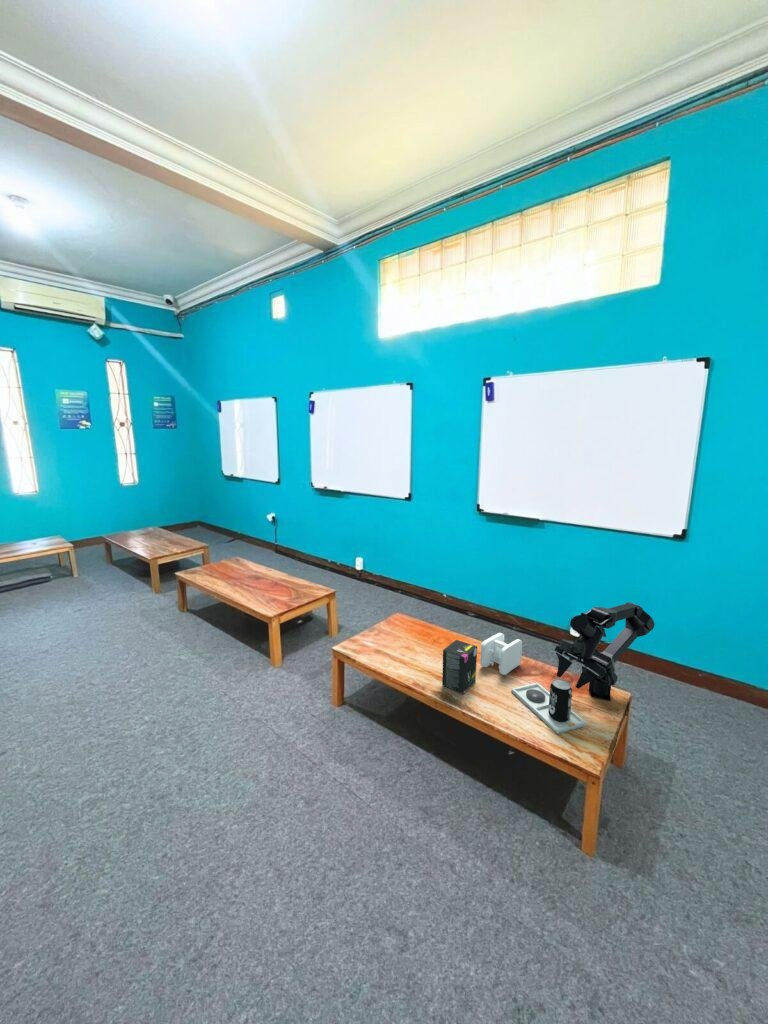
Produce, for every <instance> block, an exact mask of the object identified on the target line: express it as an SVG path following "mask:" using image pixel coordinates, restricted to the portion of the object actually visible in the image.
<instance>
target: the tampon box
mask: <svg viewBox="0 0 768 1024" xmlns="http://www.w3.org/2000/svg"><path fill="white" fill-rule="evenodd" d="M477 657H478V646H476V645H474V644H471V643H467V642H466V641H465V642H464V641H461V640H459V639H455V640H454V641H453V642H451V643H450V644H449V645H448V646H446V647H445V648H444V649H443V650H442V676H441V677H442V683H441V685H442V687H446V688H447V689H450V690H453V691H455V692H457V693H460V694H462V695H464V694H465V693H466V692H468V690H469V689H470V688H471V687H472V686H473V685H474V684H475V683H476V681H477V679H476V678H477V677H476V676H477Z"/></svg>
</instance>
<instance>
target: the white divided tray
mask: <svg viewBox="0 0 768 1024" xmlns="http://www.w3.org/2000/svg"><path fill="white" fill-rule="evenodd" d="M511 694H513V695H514V696H515V697H516V698H518V700H519V701H520V702H521V703H523V705H525V706H526V707H527V708H528V709H529V710H530V711H531V712H532V713H534V714H535V715H536V716H537V717H538V718H539V719H540V720H541V721H542V722H543V723H545V725H547V727H548V728H550V729H551V730H552V731H553V732H554V733H555V734H556V735H560V734H563V733H566V732H569V731H573V730H576V729H579V728H583V727H587V721H586V720H585V719H583V718H582V717H581V716H580V715H579V714H577V713H576V712H575V711H574V710H572V709H571V711H570V719H569V720H568V721H566V722H558V721H556V720H554V719H552V718H551V716H550V715H549V712H548V711H549V698H550V690H549V691H548V689H546V688H545V687H544V686H543V685H541V684H540V683H539V682H535V683H530V684H525V685H522V686H521V685H520V686H517V687H513V688H511Z"/></svg>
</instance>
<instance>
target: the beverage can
mask: <svg viewBox="0 0 768 1024" xmlns="http://www.w3.org/2000/svg"><path fill="white" fill-rule="evenodd" d="M549 692H550V698H549V711H548V712H549V715H550V716H551V718H552V719H554V720H556V721H558V722H566V721H568V720H569V719H570V711H571V710H572V699H573V698H572V697H573V689H572V684H571V683H570V682H569V681H567V680H566V679H562V678H554V679H552V681H551V684H550V687H549Z"/></svg>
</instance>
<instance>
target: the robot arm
mask: <svg viewBox="0 0 768 1024" xmlns="http://www.w3.org/2000/svg"><path fill="white" fill-rule="evenodd" d="M622 620H625V621H624V622H625V627H624V628H623V629H622V630H621V631H620V632H619V633H618V634H617V636H616V637H615V638H614V639H613V640H612V641H611V642H610V643H609V645H608V646H607V647H605V649H604V650H603V651H599V650H598V649H597V648H598V647H599V644H600V642H601V641H602V638H607V633H606V630H608V629H611V628H612V627H614V626H616V622H618V621H622ZM569 623H570V628H571V629H572V630H573V631H575V632H576V633H577V634H578V635H580V637H579V638H575V639H574V641H572V640H568V639H563V638H562V639H561V640H560V644H558V645H556V646H555V648H554V652H555V655H556V656H557V658H558V666H557V673H556V676H557V677H558V679H561V677H562V676H563V675H564V674H565V673H566V672H567V670H568V669H569V668H570V667H571V665H572V664H573V662H572V661H574V662H577V663H579V664H581V673H580V676H579V677H578V680H577V681H576V685H575V688H576V689H578V690H579V689H581V688H583V687H584V686H585V685H588V692H589V696H590V697H593V698H597V699H601V700H606V701H612V700H611V699H612V698H611V688H612V686H615V685H616V683H617V682H618V678H619V676H618V675H617V674H616V673H615V672H616V663H617V661H618V660H620V658H621V657H622V655H624V653H625V652H626V651H627V650H628V649H629V647H630V646H631V645H632V644H633V643H634V642H635V641H636V639H638V637H639V638H640V637H643V636H647V635H649V633H650V632H651V631H653V629H654V628H655V625H656V624H655V621H654V619H653V618H652V616H651V615H650V614H649V613H647V612H646V611H645V610H644V609H643V607H642V606H640V605H638V604H636V603H633V602H625V603H624V604H620V605H617V606H612V607H602V606H594V607H592V608H591V609H590V610H589V611H586V612H581V613H580V614H578V615H574V616H573V617H572V618H571V619H570V622H569ZM605 629H606V630H605Z"/></svg>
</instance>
